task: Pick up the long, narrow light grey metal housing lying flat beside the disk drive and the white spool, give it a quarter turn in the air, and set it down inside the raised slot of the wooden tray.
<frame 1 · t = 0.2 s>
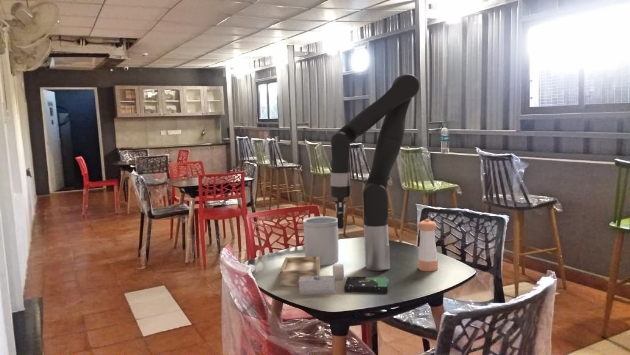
hand: (340, 225, 185), 17 cm above the table, tool pointing down, fingers open, 8 cm apart
spool: (338, 278, 177), on the table
pepper shaker: (428, 268, 183), on the table
disk drive: (367, 289, 166), on the table
wooden tray: (301, 277, 180), on the table
housing: (317, 292, 164), on the table
utensil holder: (322, 261, 200), on the table
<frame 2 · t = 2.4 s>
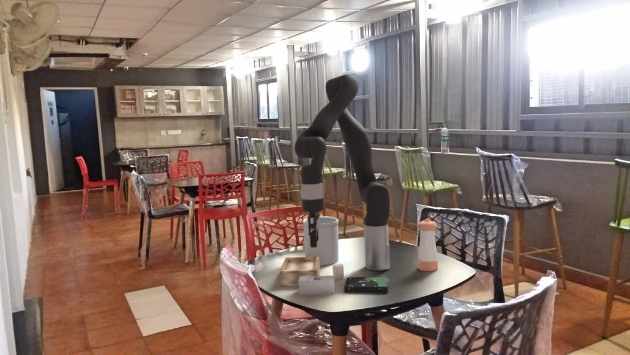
hand: (314, 243, 162), 17 cm above the table, tool pointing down, fingers open, 8 cm apart
nothing on the table moved.
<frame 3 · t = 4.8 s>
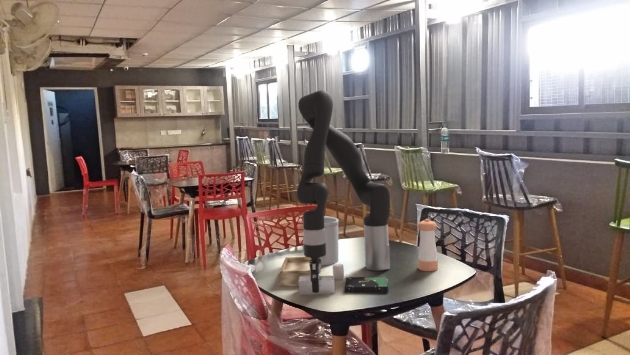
hand: (316, 288, 164), 1 cm above the table, tool pointing down, fingers open, 8 cm apart
nothing on the table moved.
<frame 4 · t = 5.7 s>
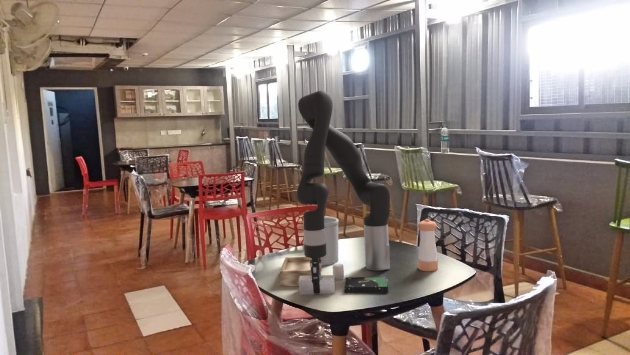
hand: (317, 290, 164), 0 cm above the table, tool pointing down, fingers closed on housing, 4 cm apart
housing: (317, 291, 164), on the table, touching gripper
everything else where it was.
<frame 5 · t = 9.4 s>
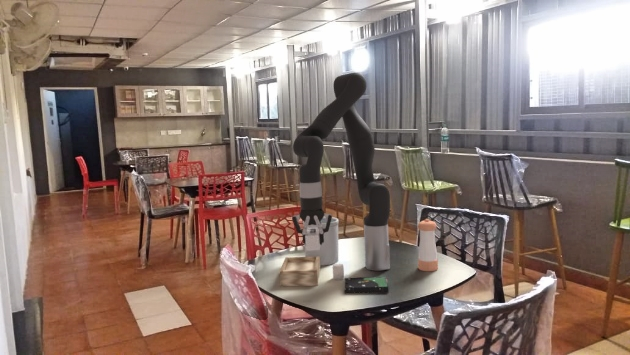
hand: (313, 244, 164), 16 cm above the table, tool pointing down, fingers closed on housing, 4 cm apart
housing: (313, 245, 164), point 16 cm above the table, touching gripper
everything else where it was.
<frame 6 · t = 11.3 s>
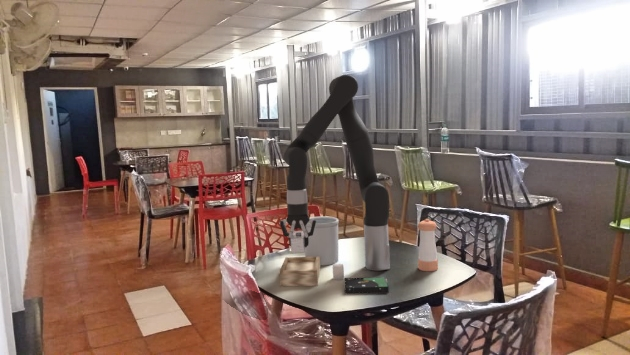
hand: (299, 246, 178), 12 cm above the table, tool pointing down, fingers closed on housing, 4 cm apart
housing: (299, 248, 178), point 11 cm above the table, touching gripper
everything else where it was.
when the fingers open (6 cm above the table, at t = 13.1 s): housing drops 2 cm, resting on wooden tray.
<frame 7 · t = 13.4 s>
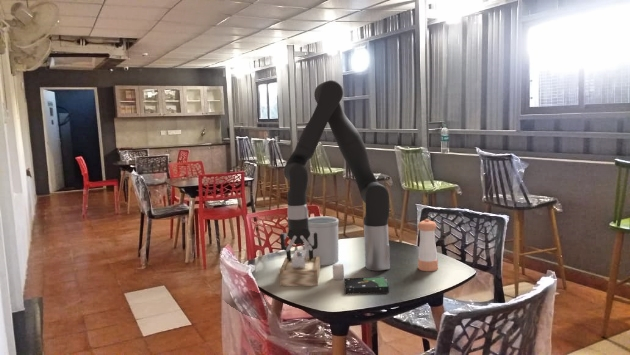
hand: (300, 260, 179), 7 cm above the table, tool pointing down, fingers open, 7 cm apart
housing: (300, 267, 179), point 4 cm above the table, touching wooden tray
everything else where it was.
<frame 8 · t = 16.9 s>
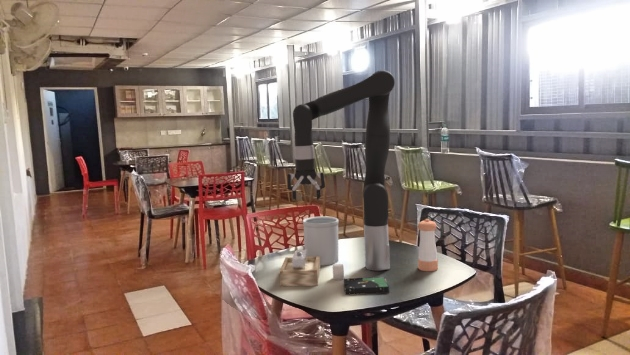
hand: (307, 199, 184), 28 cm above the table, tool pointing down, fingers open, 8 cm apart
at the end: housing 0.0 cm off-centre on the wooden tray, point 4.0 cm above the wooden tray's base; housing tilted 0°; the gripper is holding nothing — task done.
